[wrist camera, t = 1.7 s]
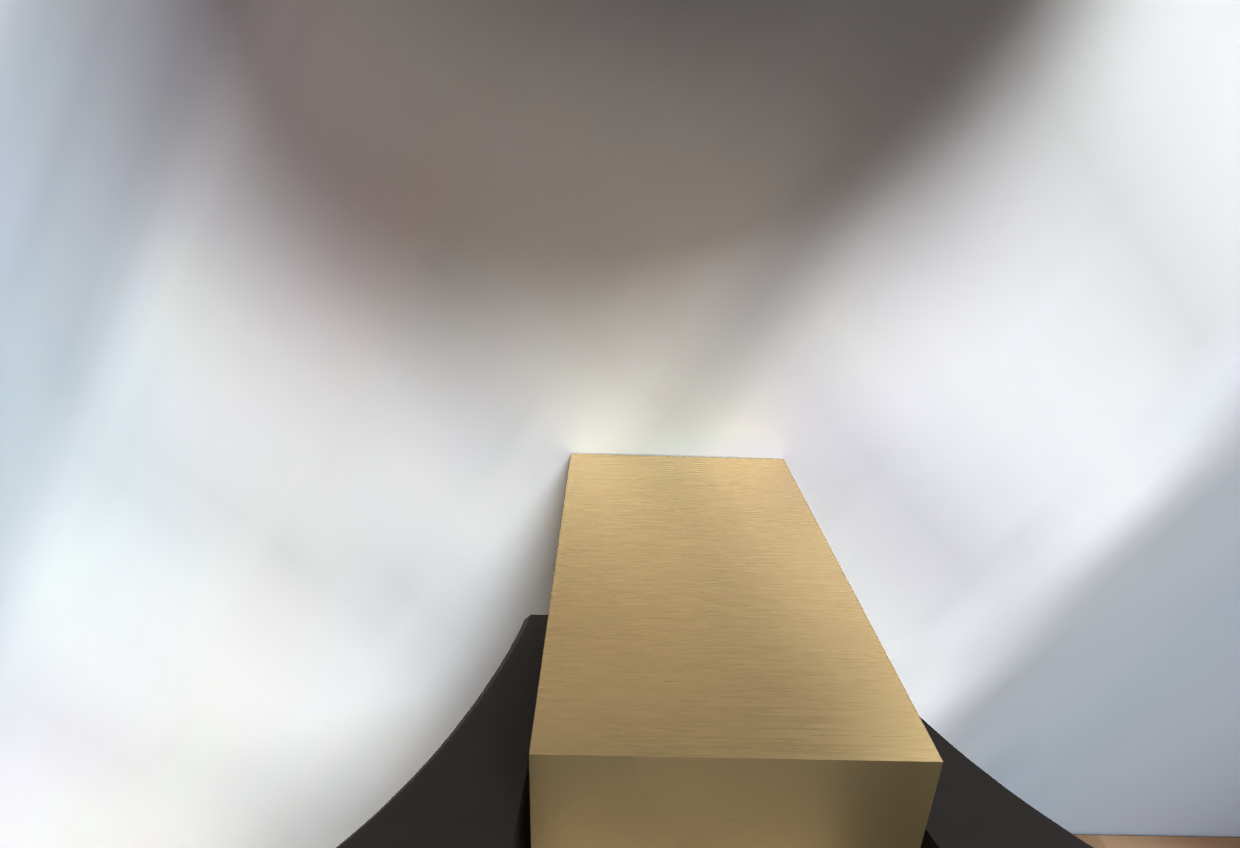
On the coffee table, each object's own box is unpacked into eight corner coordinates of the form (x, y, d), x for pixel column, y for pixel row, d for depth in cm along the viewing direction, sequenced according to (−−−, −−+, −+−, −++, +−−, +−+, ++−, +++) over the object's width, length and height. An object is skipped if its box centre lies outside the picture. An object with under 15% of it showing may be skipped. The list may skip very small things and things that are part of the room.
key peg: (783, 459, 13) (943, 761, 7) (749, 721, 16) (844, 1130, 9) (570, 453, 13) (528, 754, 7) (569, 718, 16) (537, 1128, 9)
